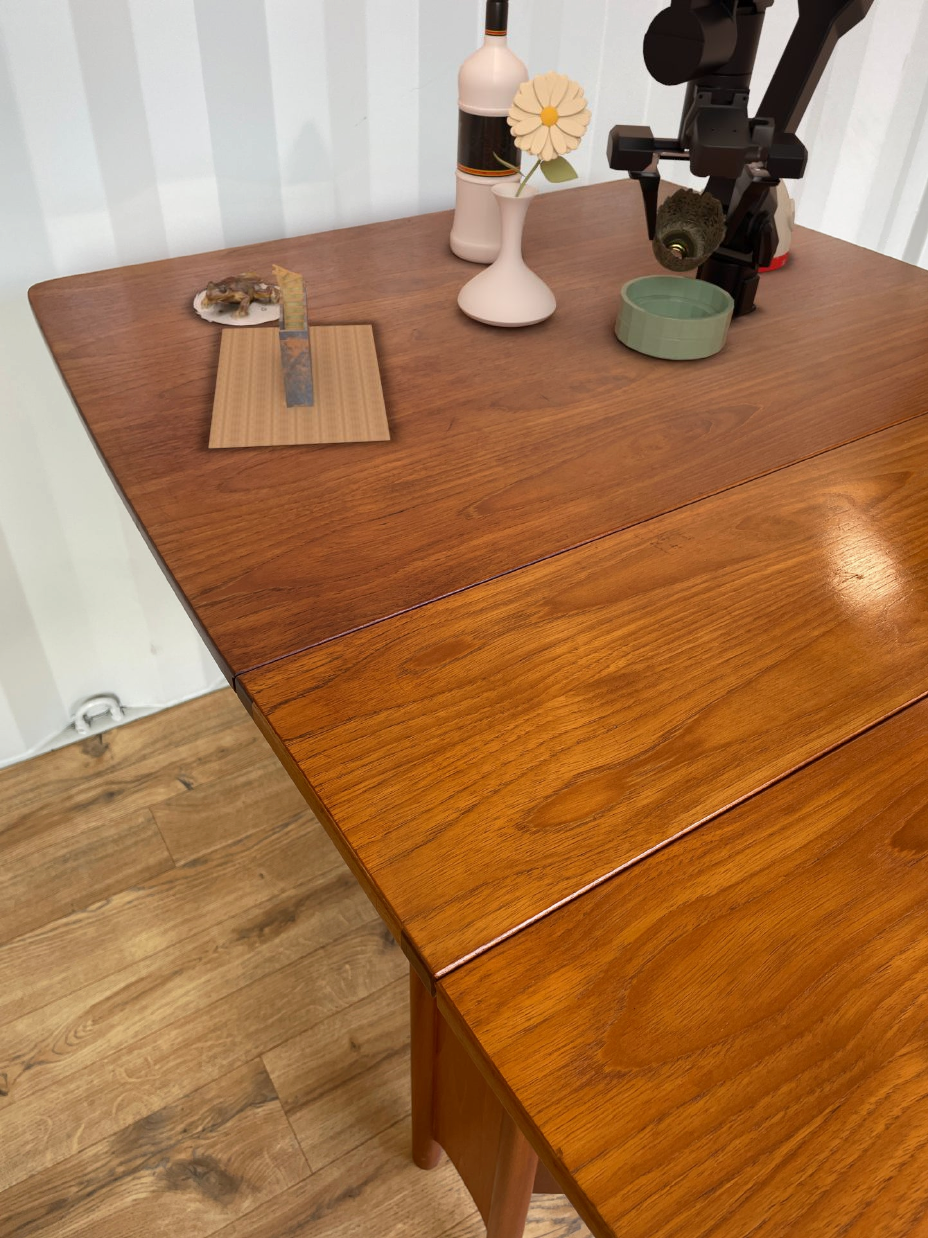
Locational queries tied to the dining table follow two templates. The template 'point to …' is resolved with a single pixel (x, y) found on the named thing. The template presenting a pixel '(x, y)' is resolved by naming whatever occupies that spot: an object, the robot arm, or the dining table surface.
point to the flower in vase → (528, 201)
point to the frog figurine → (239, 301)
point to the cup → (688, 230)
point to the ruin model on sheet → (297, 380)
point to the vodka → (485, 139)
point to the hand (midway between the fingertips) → (687, 241)
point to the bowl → (673, 317)
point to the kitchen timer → (782, 226)
